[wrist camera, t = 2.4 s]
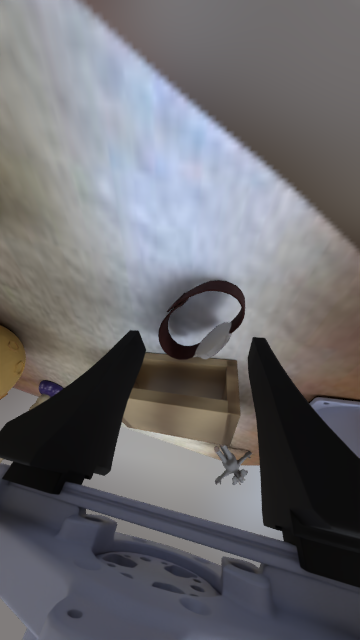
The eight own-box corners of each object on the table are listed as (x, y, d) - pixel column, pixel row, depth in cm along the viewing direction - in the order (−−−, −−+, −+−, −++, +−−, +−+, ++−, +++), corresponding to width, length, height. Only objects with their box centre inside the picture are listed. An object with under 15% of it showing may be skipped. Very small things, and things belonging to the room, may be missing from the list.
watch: (192, 347, 17) (186, 382, 14) (150, 322, 15) (135, 356, 13) (261, 299, 12) (272, 339, 9) (208, 256, 10) (203, 289, 8)
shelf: (236, 360, 17) (240, 415, 13) (228, 402, 23) (229, 446, 20) (117, 350, 19) (93, 393, 16) (140, 390, 26) (127, 427, 23)
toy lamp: (34, 378, 32) (-81, 513, 20) (50, 378, 30) (-66, 525, 18) (55, 391, 34) (-35, 515, 22) (70, 391, 33) (-18, 526, 21)
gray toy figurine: (245, 440, 34) (265, 471, 36) (230, 421, 40) (247, 448, 41) (205, 474, 33) (227, 505, 34) (195, 449, 38) (214, 477, 40)
